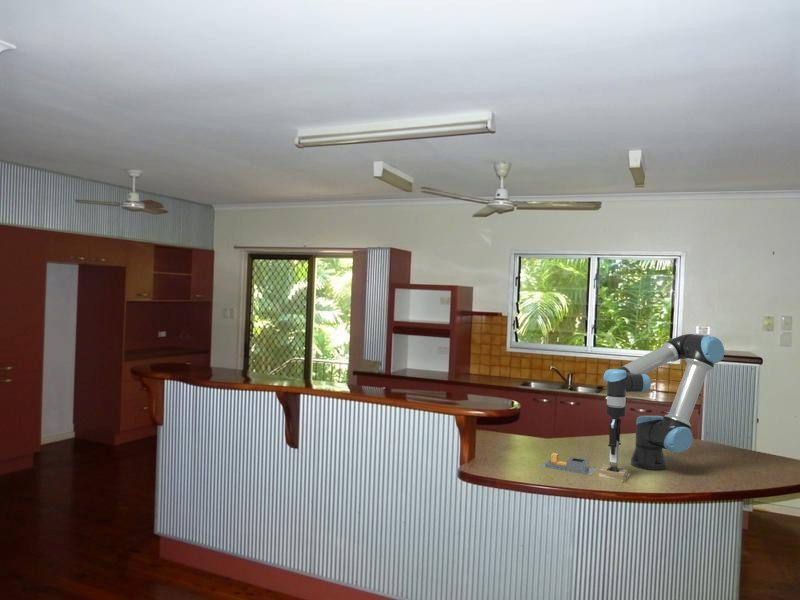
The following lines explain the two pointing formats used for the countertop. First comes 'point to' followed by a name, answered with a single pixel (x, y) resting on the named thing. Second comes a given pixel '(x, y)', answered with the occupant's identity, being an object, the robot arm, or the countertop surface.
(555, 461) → the orange block
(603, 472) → the light wood square frame
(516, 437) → the countertop surface
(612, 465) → the peg
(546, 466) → the socket station
